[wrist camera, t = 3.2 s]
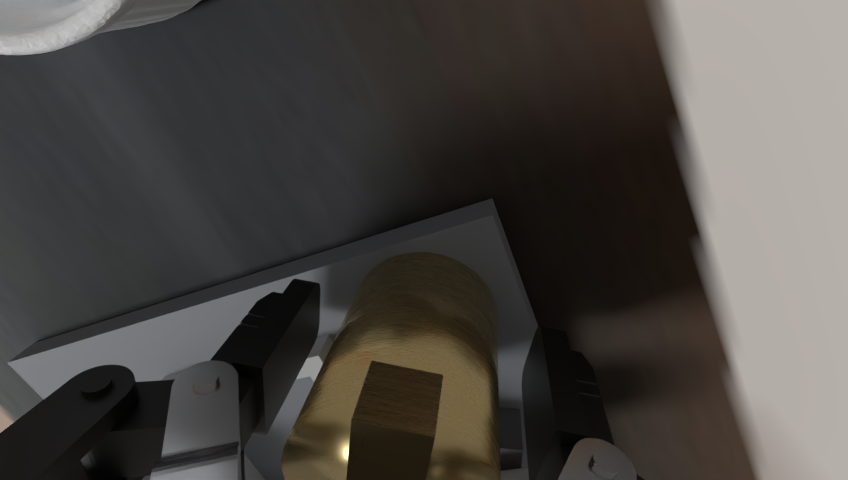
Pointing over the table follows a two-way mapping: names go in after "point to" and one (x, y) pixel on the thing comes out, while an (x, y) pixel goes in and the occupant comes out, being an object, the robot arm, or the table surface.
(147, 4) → the ramekin
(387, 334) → the gold knob
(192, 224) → the table surface
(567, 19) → the table surface
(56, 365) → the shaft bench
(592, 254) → the table surface
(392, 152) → the table surface
